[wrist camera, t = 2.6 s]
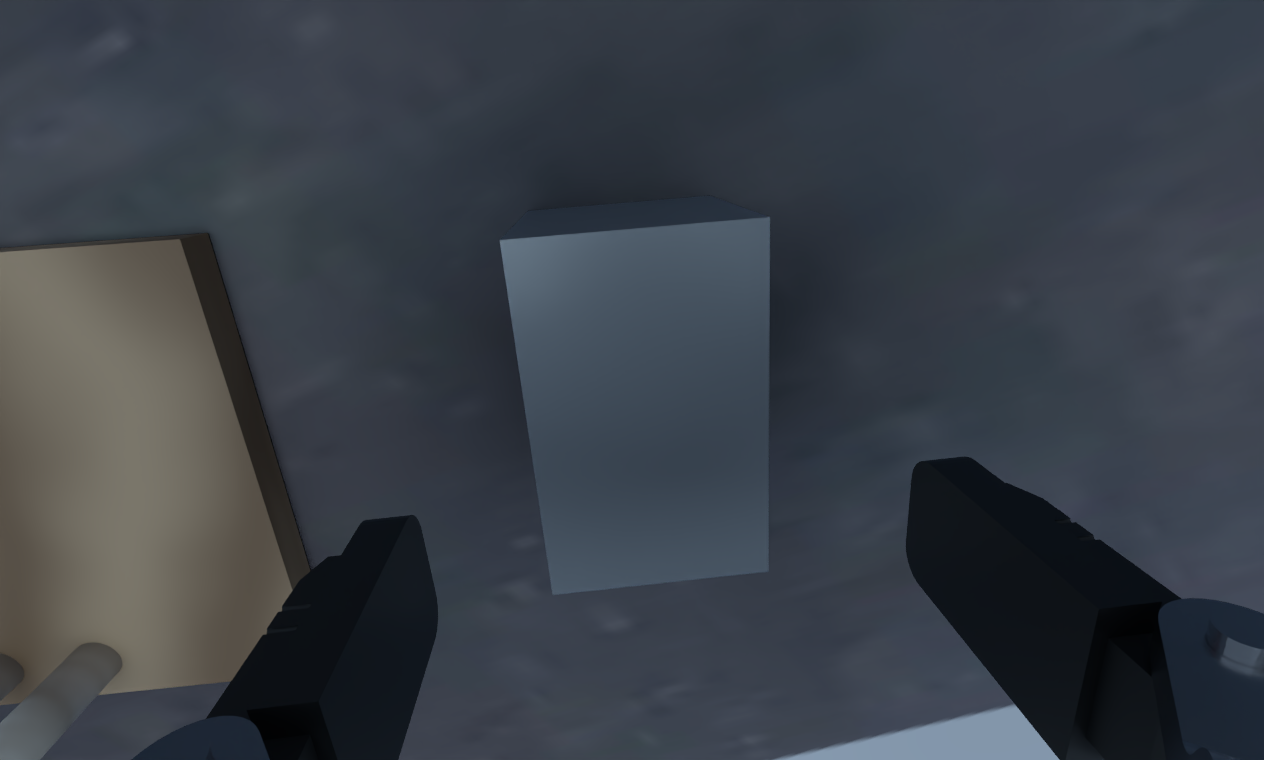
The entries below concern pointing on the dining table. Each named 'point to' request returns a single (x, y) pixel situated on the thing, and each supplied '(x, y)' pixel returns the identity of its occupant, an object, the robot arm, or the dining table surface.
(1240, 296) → the dining table surface
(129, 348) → the tray
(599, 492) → the grey rectangular block
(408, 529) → the robot arm
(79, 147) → the dining table surface
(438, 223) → the dining table surface
